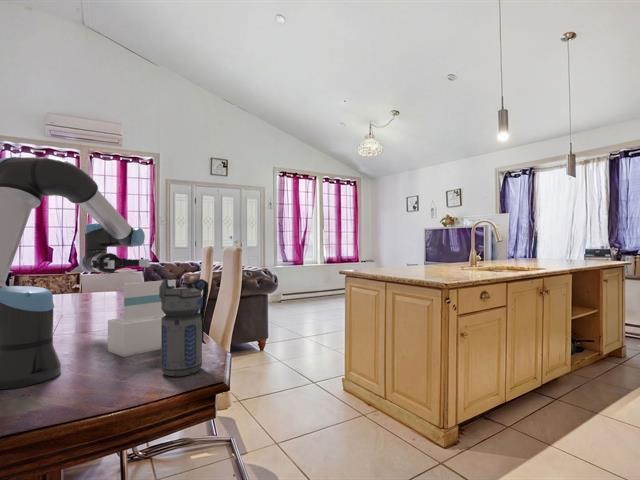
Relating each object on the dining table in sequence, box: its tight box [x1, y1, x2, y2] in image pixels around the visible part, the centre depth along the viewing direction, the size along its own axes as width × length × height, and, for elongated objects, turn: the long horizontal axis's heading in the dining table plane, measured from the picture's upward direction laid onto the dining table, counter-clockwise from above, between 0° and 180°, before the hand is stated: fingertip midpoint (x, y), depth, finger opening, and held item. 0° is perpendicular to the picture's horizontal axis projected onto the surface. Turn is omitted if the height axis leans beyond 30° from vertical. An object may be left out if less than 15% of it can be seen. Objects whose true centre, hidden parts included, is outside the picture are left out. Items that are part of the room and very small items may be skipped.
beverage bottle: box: [159, 278, 209, 377], centre depth 97 cm, size 10×13×25 cm
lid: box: [122, 279, 177, 321], centre depth 116 cm, size 11×17×1 cm
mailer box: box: [107, 315, 165, 358], centre depth 120 cm, size 12×16×10 cm
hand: (131, 263), depth 124 cm, fingers open, 11 cm apart
